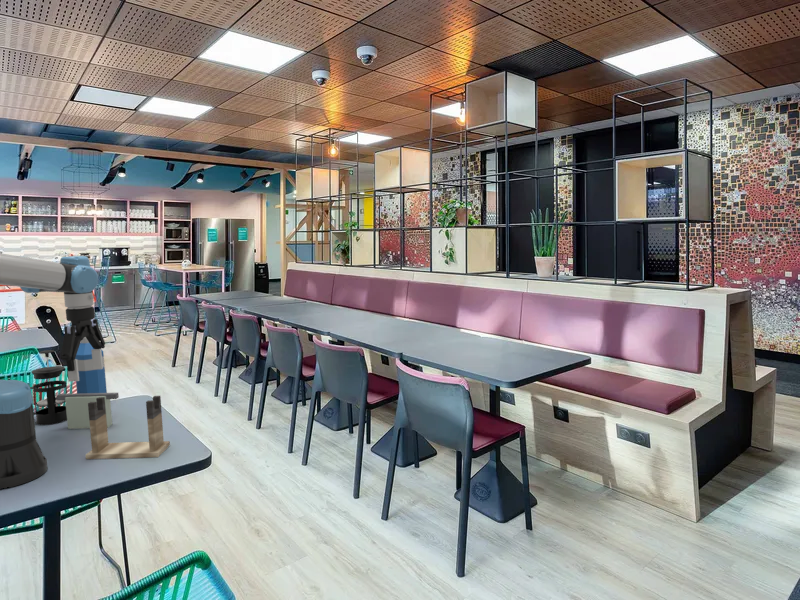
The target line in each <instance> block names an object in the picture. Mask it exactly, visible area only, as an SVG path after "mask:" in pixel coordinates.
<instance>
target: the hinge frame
mask: <svg viewBox="0 0 800 600" xmlns="http://www.w3.org/2000/svg"><path fill="white" fill-rule="evenodd" d="M161 398H162V397H161V395H154V396H152V399H151V400H147V401H145V405H146V409H145V410H146V419H147V433H148V434H147V436H148V441H135V442H134V441H132V442H130V441H129V442H126V441H125V442H109V436H108V435H109V434H108V428H107V421H106V409H105V397H98V398H96V401H97V403H96V402H89V403H88V410H89V422H90V428H89V430H90V431H89V432H90V443H91V450H90V451H88V452H87V453H86V454H84V455H85V460H94V459H95V460H99V459H100V460H101V459H102V460H103V459H105V460H106V459H107V460H108V459H130V458H131V459H133V458H136V459H137V458H141V459H143V458H159V457H160V456H161V455H162V454H164V452H165V451H166V450H167V449H168V448H169V447H170V446H171V443H170V440H169V441H168V440H165V439H164V428H163V427H164V426H163V415H162V412H163V411H162V400H161ZM169 445H170V446H169ZM168 446H169V447H168Z"/></svg>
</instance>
